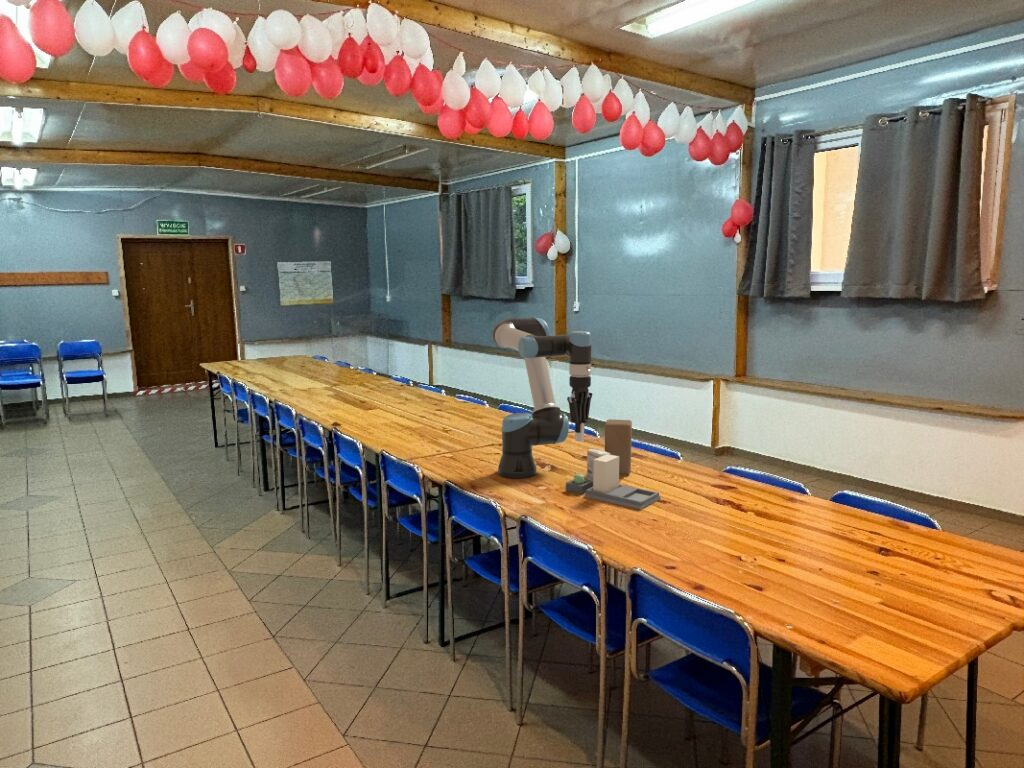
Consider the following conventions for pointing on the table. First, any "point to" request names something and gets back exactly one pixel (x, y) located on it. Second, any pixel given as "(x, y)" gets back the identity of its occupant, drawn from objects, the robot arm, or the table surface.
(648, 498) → the pallet
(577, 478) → the button
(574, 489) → the dark grey square tray
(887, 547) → the table surface
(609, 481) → the billet
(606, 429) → the block
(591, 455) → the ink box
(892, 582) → the table surface
